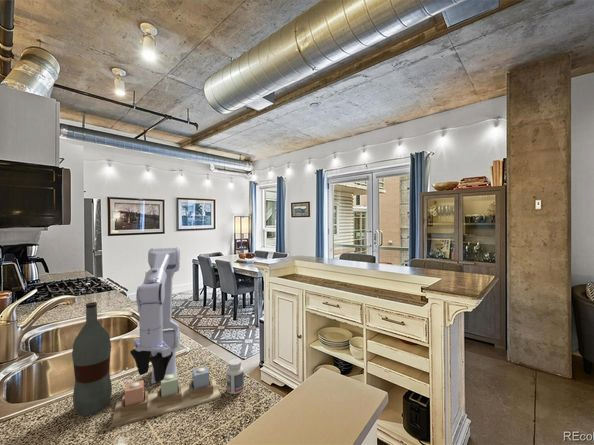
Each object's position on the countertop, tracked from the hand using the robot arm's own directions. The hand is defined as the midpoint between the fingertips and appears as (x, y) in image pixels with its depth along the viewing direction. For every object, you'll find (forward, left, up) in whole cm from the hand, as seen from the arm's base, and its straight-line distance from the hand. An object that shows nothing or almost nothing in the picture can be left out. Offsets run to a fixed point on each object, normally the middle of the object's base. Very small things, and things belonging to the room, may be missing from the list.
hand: (151, 377), depth 80 cm
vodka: (-12, -15, -11) cm, 22 cm away
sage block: (-5, +5, -8) cm, 11 cm away
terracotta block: (-5, -4, -8) cm, 11 cm away
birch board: (-5, +5, -11) cm, 13 cm away
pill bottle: (-2, +24, -11) cm, 26 cm away
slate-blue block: (-5, +14, -8) cm, 17 cm away
